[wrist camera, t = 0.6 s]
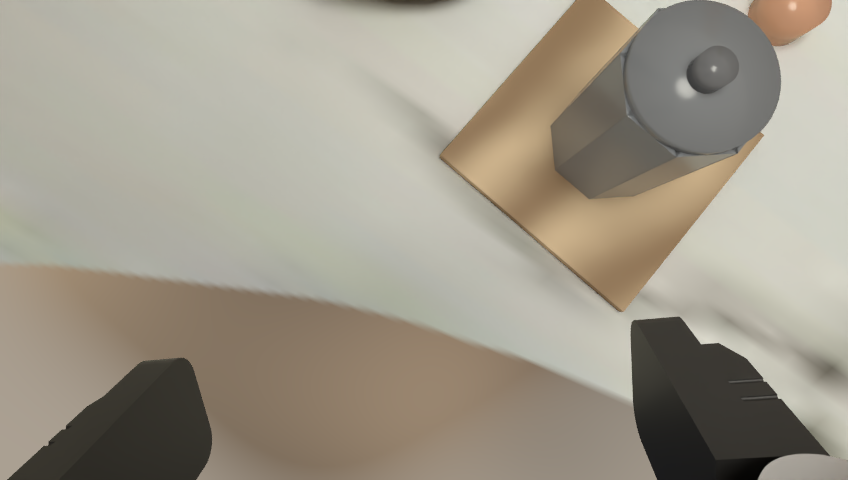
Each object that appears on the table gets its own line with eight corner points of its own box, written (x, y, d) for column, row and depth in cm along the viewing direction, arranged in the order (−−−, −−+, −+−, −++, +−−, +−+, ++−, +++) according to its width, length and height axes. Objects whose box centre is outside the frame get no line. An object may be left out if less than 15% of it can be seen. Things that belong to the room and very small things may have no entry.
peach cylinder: (737, 4, 37) (762, -17, 34) (786, -17, 37) (814, -39, 35) (763, 55, 37) (790, 37, 34) (811, 33, 37) (842, 14, 35)
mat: (439, 157, 35) (440, 154, 34) (584, -9, 36) (588, -14, 36) (619, 311, 34) (623, 311, 34) (757, 137, 36) (764, 135, 35)
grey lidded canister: (530, 149, 34) (606, 71, 22) (597, 71, 35) (705, -46, 23) (613, 220, 34) (734, 179, 22) (679, 140, 35) (829, 59, 23)
